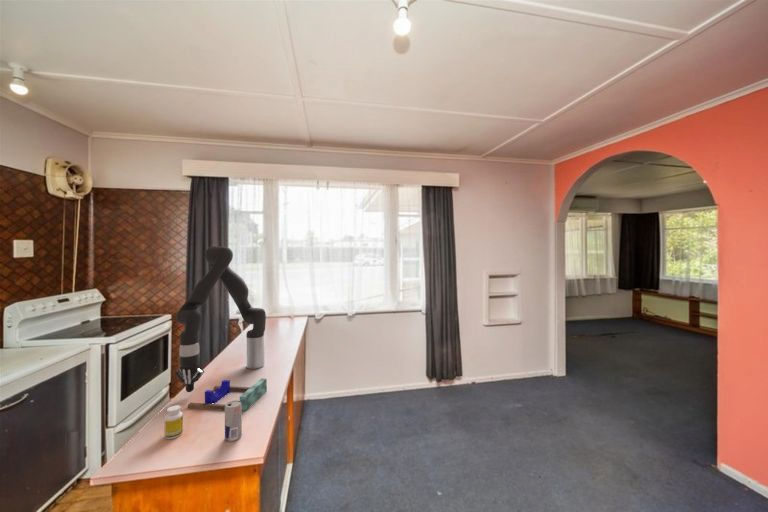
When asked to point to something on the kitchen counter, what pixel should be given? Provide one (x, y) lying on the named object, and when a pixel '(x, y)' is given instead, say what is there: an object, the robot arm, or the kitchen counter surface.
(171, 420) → the supplement bottle
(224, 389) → the cable clip
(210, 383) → the kitchen counter surface
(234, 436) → the energy drink
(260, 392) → the guide channel
